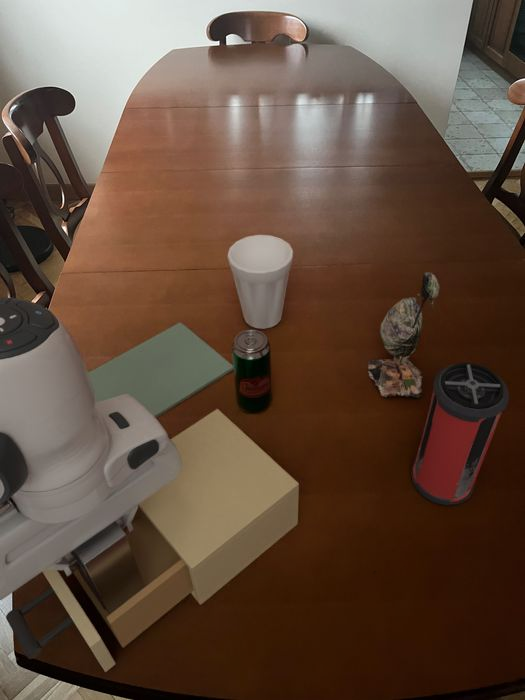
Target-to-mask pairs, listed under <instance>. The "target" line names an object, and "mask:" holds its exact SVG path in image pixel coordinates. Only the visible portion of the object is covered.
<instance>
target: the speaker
mask: <svg viewBox="0 0 525 700" xmlns="http://www.w3.org/2000/svg"><path fill="white" fill-rule="evenodd" d="M432 387H433V390H432V395H431V398H430V402H429V403H430V404H429V407H428V412H427V415H426V419H425V423H424V427H423V431H422V435H421V439H420V443H419V446H418V450H417V452H416V457H415V459H414V461H413V464H412V467H411V471H410V472H411V474H410V477H411V481H412V483H413V486H414V487H415V489H416V490H417V491H418V493H419V494H421V495H422V496H423V497H424V498H426V499H427V500H429V501H431V502H434V503H436V504H440V505H444V506H445V505H446V506H453V505H458V504H460V503H463V502H465V501H466V500H468V499H469V498H470V497H471V495H472V494H473V492H474V489H475V486H476V482H477V477H478V475H479V472H480V470H481V467H482V465H483V462H484V459H485V456H486V454H487V452H488V449H489V446H490V443H491V441H492V439H493V437H494V434H495V431H496V428H497V426H498V423H499V420H500V418H501V415H502V413H504V412H505V410H506V408H507V406H508V403H509V400H510V398H509V397H510V393H509V389H508V387H507V384H506V383H505V382H504V380H503V379H502V378H501V377H500V376H499V375H498V374H496V373H495V372H494V371H492V370H491V369H489V368H488V367H486V366H483V365H480V364H477V363H473V362H461V363H453V364H450V365H446V366H445V367H443V368H441V369H440V370H439V371H438V372H437V373H436V375H435V377H434V380H433V383H432Z"/></svg>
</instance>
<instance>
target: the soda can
mask: <svg viewBox="0 0 525 700" xmlns="http://www.w3.org/2000/svg"><path fill="white" fill-rule="evenodd" d="M231 352H232V353H231V356H232V365H233V367H234V369H233V379H234V388H235V399H236V400H235V401H236V405H237V406H238V407H239V409H240V410H242V411H245V412H247V413H252V414H254V413H260V412H263V411H265V410H266V409H268V407H269V406H270V405H271V403H272V400H273V399H272V398H273V396H272V394H273V393H272V359H271V358H272V357H271V356H272V355H271V354H272V353H271V343H270V341H269V340H268V337H267V336H266V334H265V333H264V332H262V331H259V330H256V329H247V330H242V331H240V332H239V333H238V334H237V335H235V338H234V340H233V342H232V345H231Z"/></svg>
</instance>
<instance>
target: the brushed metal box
mask: <svg viewBox="0 0 525 700" xmlns="http://www.w3.org/2000/svg"><path fill="white" fill-rule="evenodd" d="M71 552H72V554H73V555H74V556H75V558H76V559H77V561H78V563H79V565H80V568H79V569H78V570H79V572H80V574H81V576H82V577H83V579H84V580H85V582H86V583H87V585H88V586H89V588H90V589H91V591H92V592H93V594H94V595H95V597H96V598H97V600H98V601H99V603H100V604H101V606H102V607H103V608H104V610H106V612H107V613H108V614H109V615H110V614H111V613H112V612H114V611H115V610H116V609H118V608H119V607H120V606H121V605H123V604H124V603H125V602H127V601H128V600H129V599H130V598H132V597H133V596H134V595H136V594H137V593H138V592H139V591H141V590H142V589H143V588H145V585H144V582H143V579H142V577H141V574H140V571H139V568H138V566H137V563H136V560H135V558H134V555H133V552H132V549H131V547H130V544H129V541H128V539H127V536H126V534H125V532H124V531H123V530H122V529H121V527H120V526H119V525H118V523H117V522H116V521H114V522H113V523H111V524H110V525H109V526H107V527H106V528H104V529H103V530H101V531H100V532H99V533H97V534H96V535H94V536H93V537H91V538H90V539H88V540H87V541H86V542H84V543H83V544H81V545H80V546H78V547H77V548H76V549H74V550H73V551H71Z"/></svg>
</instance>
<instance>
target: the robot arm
mask: <svg viewBox="0 0 525 700" xmlns="http://www.w3.org/2000/svg"><path fill="white" fill-rule="evenodd" d="M88 373H89V371H88V368H87V366H86V363H85V361H84V358H83V357H82V355H81V352H80V350H79V347H78V346H77V343H76V341H75V340H74V338H73V336H72V334H71V332H70V331H69V330H68V328H67V326H66V325H65V324H64V322H62V321H61V319H60V318H59V317H58V316H57V315H55V313H53V312H52V311H51V310H50V309H48V308H46V307H45V306H44V305H41V304H38V303H37V302H34V301H31V300H27V299H23V298H18V297H4V296H3V297H0V601H2V600H4V599H5V598H7V597H8V596H9V595H11V594H12V593H14V592H15V591H17V590H18V589H19V588H21V587H23V586H24V585H25V584H27V583H29V582H30V581H31V580H33V579H34V578H35V577H38V575H39V574H41V573H43V572H42V571H44V570H45V569H47V568H48V570H57V571H63V572H64V573H65V575H66V577H69V576H71V575H72V574H73V572H75V571H76V570H77V569H79V568H80V565H79V563H78V561H77V559H76V558H75V556H74V555H73V554H72V552H71V551H73V550H74V549H76V548H77V547H78V546H80V545H81V544H83V543H84V542H86V541H87V540H88V539H90V538H91V537H93V536H94V535H96V534H97V533H99V532H100V531H101V530H103V529H104V528H106V527H107V526H109V525H110V524H111V523H113V522H114V521H116V522H117V523H118V525H119V526H120V527H121V529H122V530H123V531H124V532H125V534H128V533H129V532H131V531H132V530H133V526H132V523H131V522H132V520H133V518H134V516H135V513H136V511H137V509H138V505H139V504H140V503H142V502H143V501H145V500H146V499H147V498H149V497H150V496H152V495H153V494H155V493H156V492H158V491H159V490H160V489H162V488H163V487H165V486H166V485H168V484H169V483H171V482H172V481H174V480H175V479H176V478H177V477H178V476H179V474H180V472H181V470H182V468H183V463H182V459H181V456H180V453H179V451H178V449H177V447H176V445H175V444H174V443H173V442H172V441H171V439H172V438H170V437H169V434H168V432H167V431H166V429H165V428H164V427H163V425H162V424H161V422H160V421H159V420H158V419H157V418H155V417H154V416H153V415H152V413H151V412H150V411H149V410H148V409H147V408H146V407H144V406H143V405H142V404H141V403H140V402H139V401H137V400H136V399H135V398H134V397H132V396H131V395H129V394H123V395H120V396H116V397H113V398H110V399H107V400H103V401H99V402H96V403H95V392H94V388H93V385H92V382H91V379H90V377H89V374H88Z"/></svg>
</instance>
